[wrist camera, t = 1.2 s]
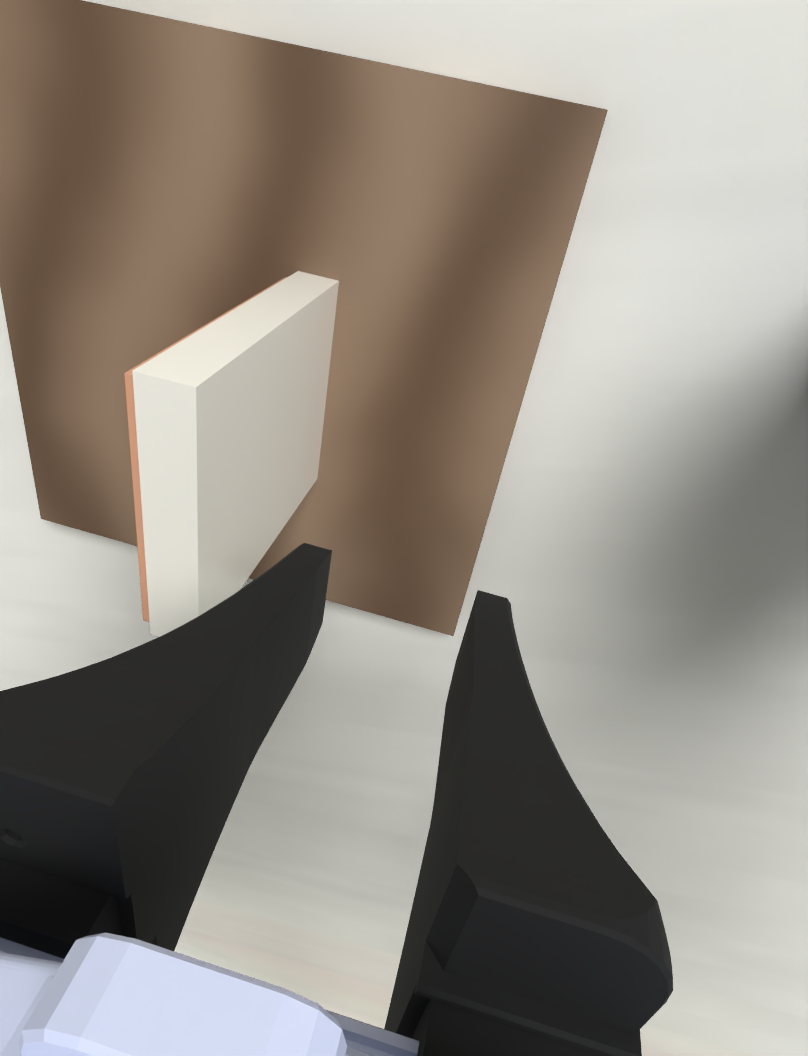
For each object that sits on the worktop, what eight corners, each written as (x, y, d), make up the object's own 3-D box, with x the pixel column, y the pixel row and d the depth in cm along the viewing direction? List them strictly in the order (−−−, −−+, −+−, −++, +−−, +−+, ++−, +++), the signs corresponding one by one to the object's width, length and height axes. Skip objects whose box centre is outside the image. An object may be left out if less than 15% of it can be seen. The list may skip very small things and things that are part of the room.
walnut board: (606, 109, 17) (607, 109, 16) (457, 619, 27) (453, 636, 26) (-27, -23, 19) (-55, -28, 18) (56, 506, 29) (41, 518, 28)
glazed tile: (339, 280, 20) (196, 387, 12) (317, 478, 24) (199, 648, 16) (288, 268, 20) (117, 366, 13) (275, 467, 24) (138, 631, 17)
